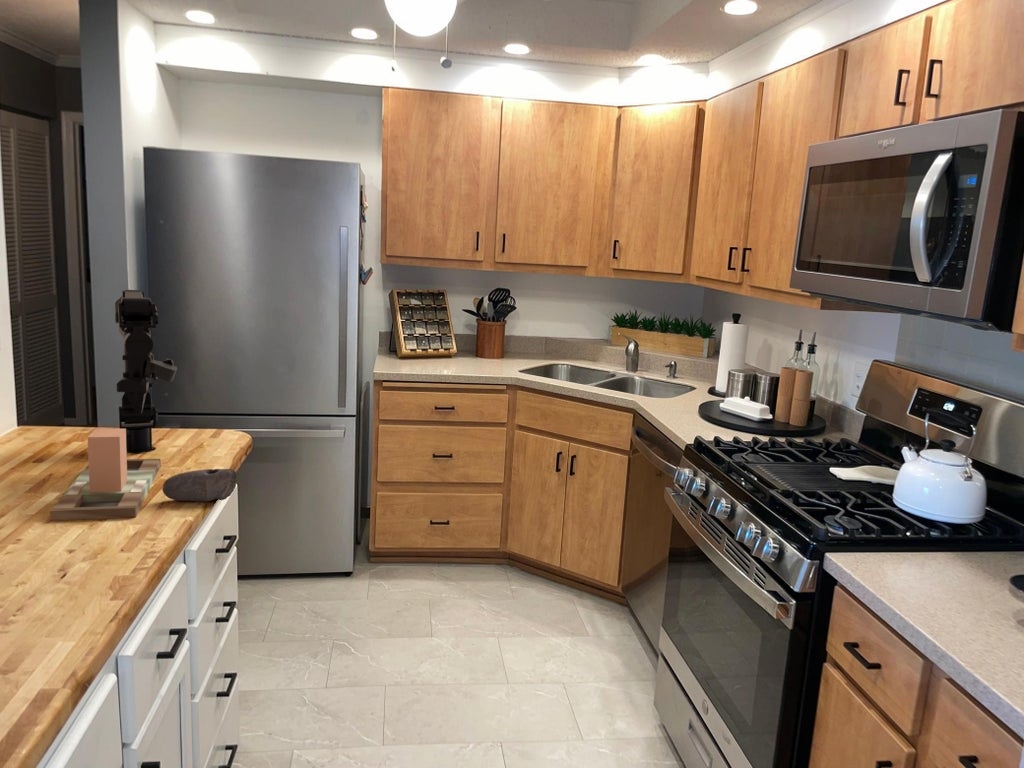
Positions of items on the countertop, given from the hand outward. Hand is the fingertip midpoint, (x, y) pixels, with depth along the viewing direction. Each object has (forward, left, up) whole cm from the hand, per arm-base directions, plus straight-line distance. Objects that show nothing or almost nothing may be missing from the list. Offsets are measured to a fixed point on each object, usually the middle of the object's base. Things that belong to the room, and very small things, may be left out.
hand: (139, 414), depth 182 cm
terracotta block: (+17, +13, -11) cm, 24 cm away
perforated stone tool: (+8, +30, -13) cm, 34 cm away
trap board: (+15, +11, -13) cm, 23 cm away
